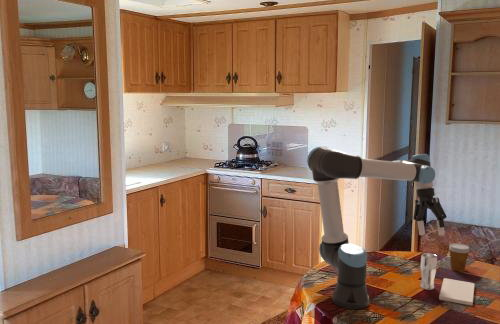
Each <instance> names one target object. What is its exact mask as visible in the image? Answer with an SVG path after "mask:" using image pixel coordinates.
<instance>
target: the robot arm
mask: <svg viewBox="0 0 500 324" xmlns="http://www.w3.org/2000/svg"><path fill="white" fill-rule="evenodd" d="M430 160H431V159H430V156H429V154H427V153H421V154H420V153H418V154H415V155H412V156H411V159H403V160H399V159H398V160H392V161H391V160H383V159H381V160H379V159H373V158H371V159H370V158H362V157H361V156H360V155H358V154H357V155H356V154H350V153H348V152H344V151H342V150H338V149H334V148H331V147H328V146H316V147H314V148H313V149H312V150H311V151H310V152H309V153H308V155H307V159H306V163H307V166H308V169H309V170H310V171H311V173H312V179H313V181H314V182H315V183H317V190H318V198H319V204H320V212H321V213H320V214H321V221H322V228H323V235H322V236H321V239H320V240H321V243H320V244H319V247H318V250H319V252H318V253H319V255H320V257H321V258H322V260H323V262H325V263H326V264H327V265H329V266H331V267H332V268H333V269H335V270H336V271H337V276H336V277H337V278H336V279H337V280H336V281H337V282H336V285H335V288H334V289H333V293H332V299H331V300H332V302H333V304H334V305H336V306H338V307H340V308H343V309H346V310H348V309H349V310H361V309H365V308H367V307H368V306H369V304H370V296H369V294H368V290H367V286H366V282H367V281H366V279H367V266H368V265H367V262H368V254H367V251H366V250H365V249H366V248H365V249H364V248H363V247H362V246H360V245H358V244H357V245H356V244H354V243H349V236H348V234H347V233H345V231H344V224H343V214H342V209H341V208H342V207H341V198H340V191H339V184H338V181H339V180H340V179H351V180H357V179H359V178H367V179H368V178H371V179H382V180H393V181H406V182H408V181H409V182H412V183H413V182H414V184H415V188H416V197H417V198H419V199H415V200H414V202H415V203H414V204H415V205H414V211H413V217H412V218H413V220H414V221H416V224H417V229H418V236H426V231H425V223H424V219H423V218H424V215H425V212H426V210H427V209H428V210H430V211H431V212H432V213H433V216H434V217H435V218H436V227H437V232H438V233H437V234H438V236H445V235H446V231H445V222H444V220H445V219H447V218H448V217H447V214H446V212H445V210H444V208H443V206H442V204H441V202H440V199H439V197H434V196H435V195H436V193H435V188H434V182H433V181H434V180H435V178H436V170H435V168H433V167H432V166H431V161H430Z"/></svg>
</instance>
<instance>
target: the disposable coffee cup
mask: <svg viewBox="0 0 500 324" xmlns="http://www.w3.org/2000/svg"><path fill="white" fill-rule="evenodd" d="M448 248H449V255H450V256H449V259H450V269H451V270H452V271H454V272H455V271H456V272H465V269H466V265H467V260H468V256H469V253H470V251H471V249H470V247H469V245H467V244H463V243H458V242H457V243H455V242H454V243H451V244H450V245H449V247H448Z"/></svg>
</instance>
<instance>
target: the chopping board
mask: <svg viewBox="0 0 500 324" xmlns="http://www.w3.org/2000/svg"><path fill="white" fill-rule="evenodd" d="M440 288H441V289H440V291H439V296H438V299H439V300H440V301H447V302H451V303H456V304H461V305H467V306H473V303H474V294H475V293H474V292H475V282H474V283H473V282H470V281H469V282H468V281H464V280H463V281H462V280H457V279H452V278H451V279H450V278H446V277H444V278H443V281H442V285H441V287H440Z"/></svg>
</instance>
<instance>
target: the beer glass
mask: <svg viewBox="0 0 500 324" xmlns="http://www.w3.org/2000/svg"><path fill="white" fill-rule="evenodd" d="M437 269H438V255H436V254H434V253H430V252H429V253H427V252H426V253H425V252H424V253H421V258H420V274H421V276H420V277H421V282H420V284H419V286H420V288H421V289H424V290H428V291H431V290H434V289H435V276H436V273H437Z"/></svg>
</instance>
